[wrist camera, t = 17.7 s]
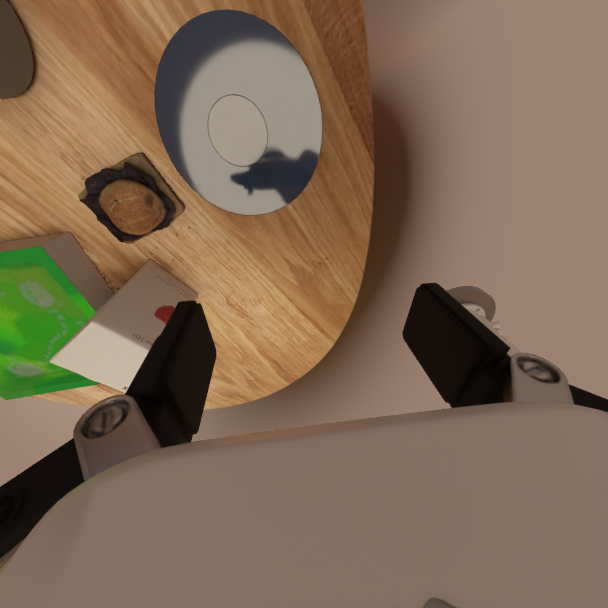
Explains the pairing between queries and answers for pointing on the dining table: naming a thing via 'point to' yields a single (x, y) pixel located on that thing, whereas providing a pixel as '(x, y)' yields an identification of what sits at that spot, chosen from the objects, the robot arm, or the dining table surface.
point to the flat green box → (44, 311)
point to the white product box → (124, 328)
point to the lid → (238, 112)
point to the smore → (131, 199)
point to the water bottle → (13, 54)
